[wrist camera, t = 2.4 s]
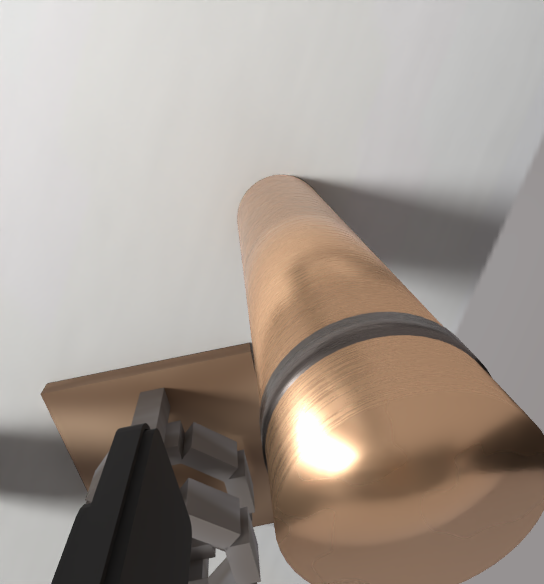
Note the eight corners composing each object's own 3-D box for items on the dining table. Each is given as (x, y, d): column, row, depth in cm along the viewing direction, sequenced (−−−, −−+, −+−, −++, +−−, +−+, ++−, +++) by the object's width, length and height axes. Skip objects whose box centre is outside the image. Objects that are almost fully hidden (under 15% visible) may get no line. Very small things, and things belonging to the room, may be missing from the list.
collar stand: (46, 383, 26) (-27, 506, 18) (249, 342, 26) (260, 447, 19) (121, 542, 32) (89, 686, 24) (286, 507, 32) (306, 638, 24)
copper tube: (227, 183, 22) (245, 427, 6) (317, 165, 23) (573, 359, 6) (245, 267, 24) (294, 625, 8) (328, 250, 24) (543, 570, 8)
